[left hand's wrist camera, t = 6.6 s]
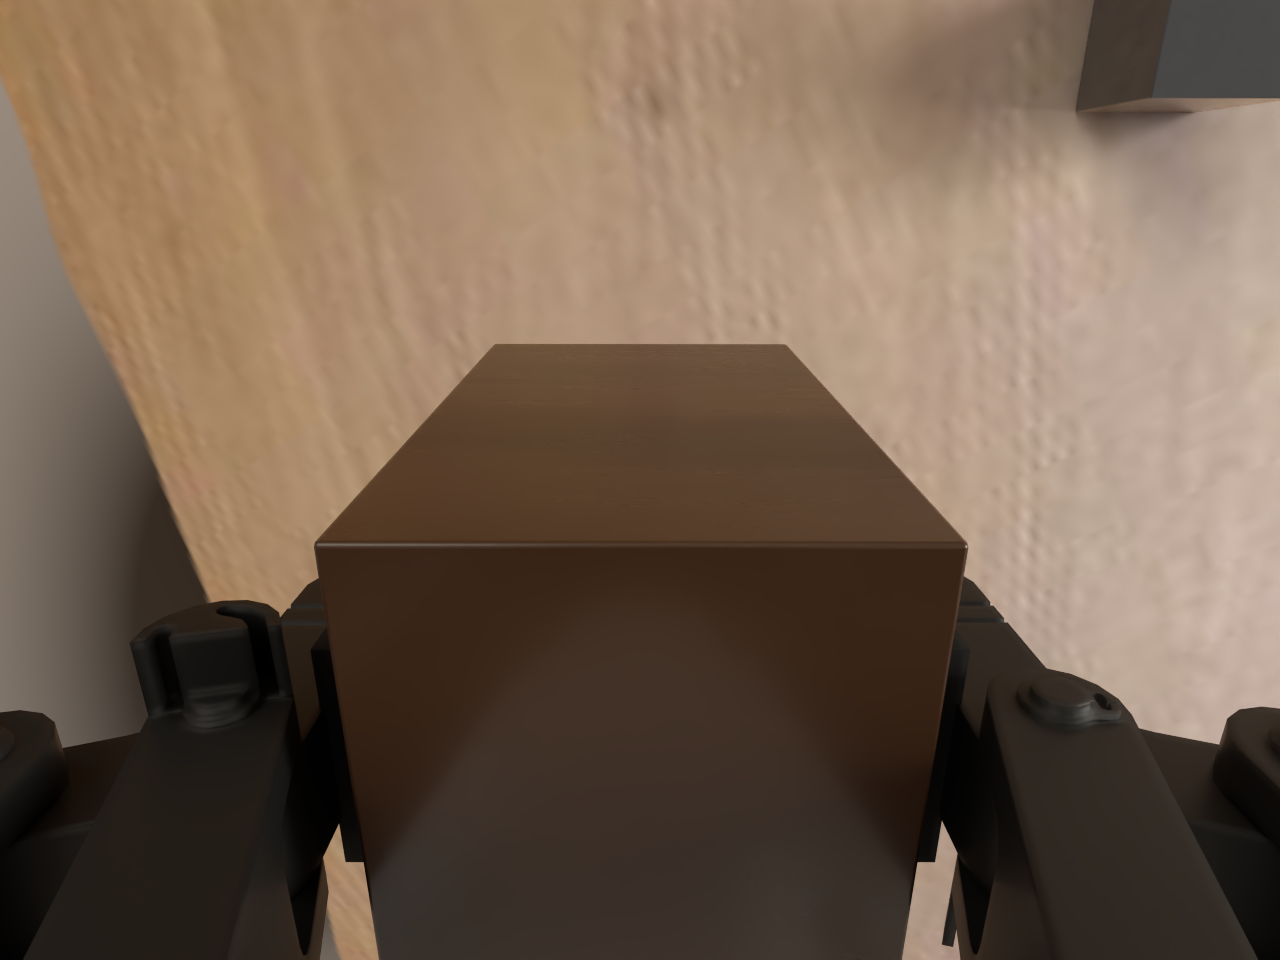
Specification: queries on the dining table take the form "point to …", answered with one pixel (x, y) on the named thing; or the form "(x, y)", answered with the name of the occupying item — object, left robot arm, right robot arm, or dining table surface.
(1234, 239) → the dining table surface
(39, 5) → the dining table surface
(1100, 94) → the slate block
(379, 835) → the bar
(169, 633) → the left robot arm
